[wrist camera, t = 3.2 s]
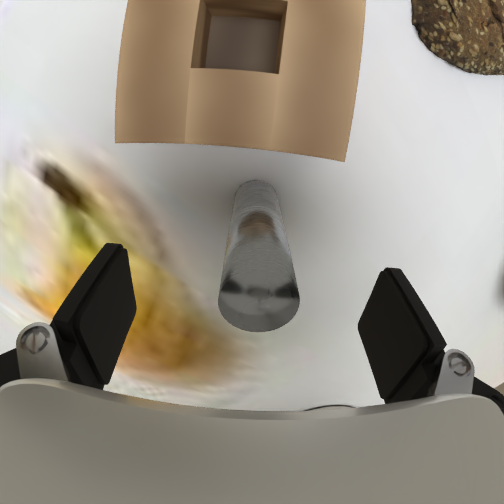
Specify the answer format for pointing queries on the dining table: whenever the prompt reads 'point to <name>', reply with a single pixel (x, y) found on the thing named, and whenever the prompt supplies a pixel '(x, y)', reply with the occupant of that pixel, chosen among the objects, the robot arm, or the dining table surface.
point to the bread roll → (463, 32)
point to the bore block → (240, 74)
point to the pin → (257, 263)
